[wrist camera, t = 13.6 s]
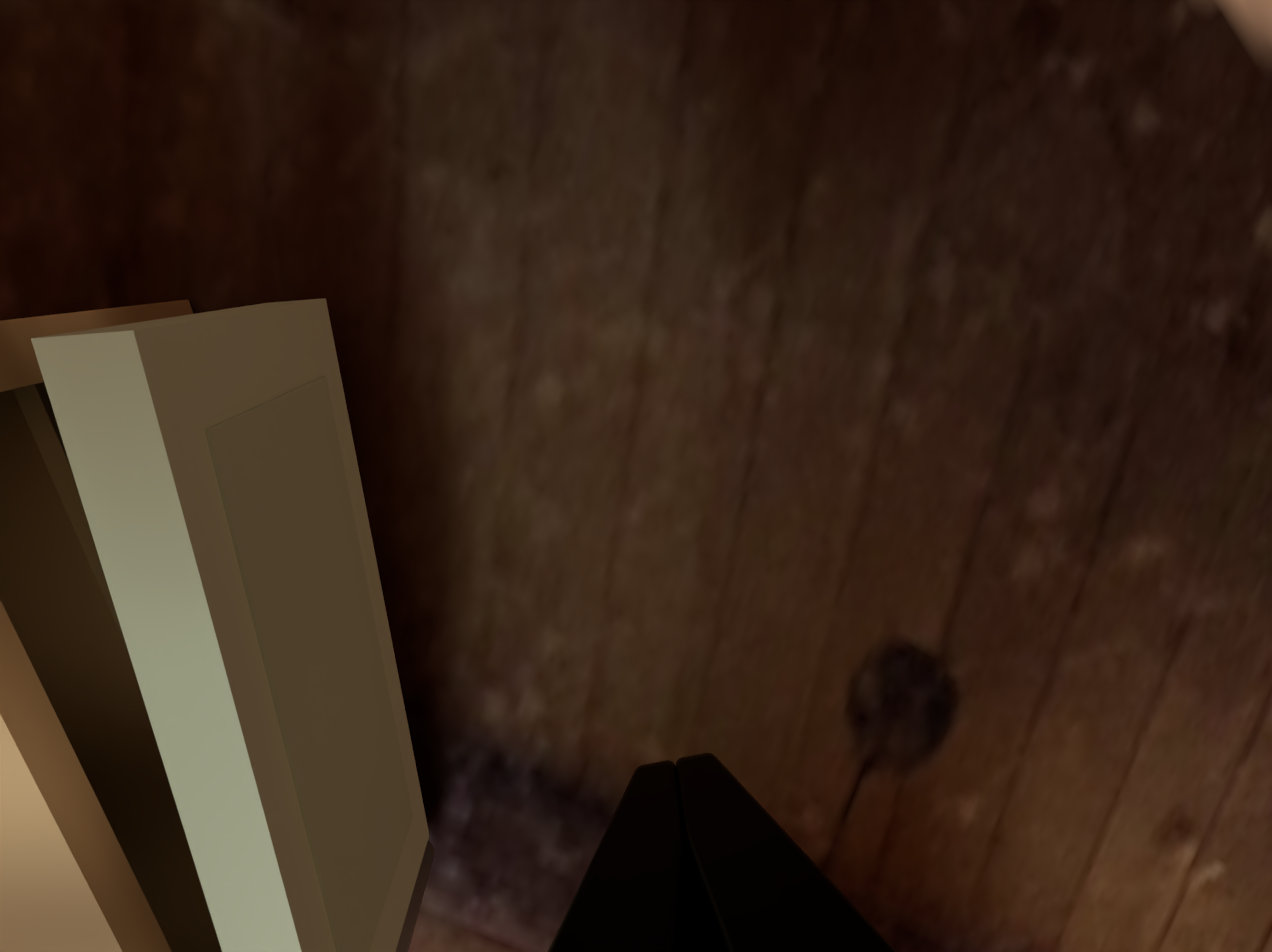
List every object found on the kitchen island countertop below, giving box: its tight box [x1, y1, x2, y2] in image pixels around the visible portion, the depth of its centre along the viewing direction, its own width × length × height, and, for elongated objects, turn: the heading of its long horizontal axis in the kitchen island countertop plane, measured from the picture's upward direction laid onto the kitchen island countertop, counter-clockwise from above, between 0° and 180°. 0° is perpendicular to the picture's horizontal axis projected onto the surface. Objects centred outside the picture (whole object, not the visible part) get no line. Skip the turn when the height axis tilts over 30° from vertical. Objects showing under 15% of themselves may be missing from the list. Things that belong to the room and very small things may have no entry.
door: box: [31, 298, 434, 952], centre depth 12 cm, size 12×1×6 cm, turn 4°
